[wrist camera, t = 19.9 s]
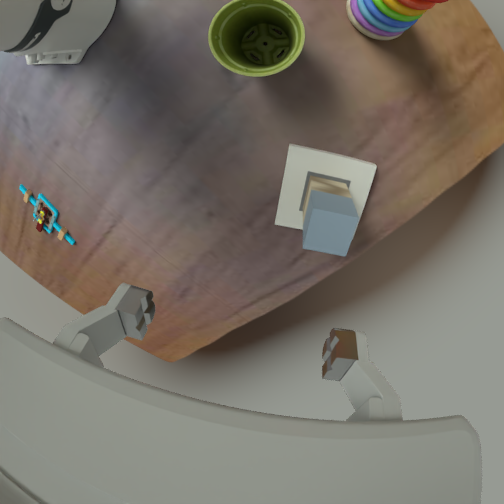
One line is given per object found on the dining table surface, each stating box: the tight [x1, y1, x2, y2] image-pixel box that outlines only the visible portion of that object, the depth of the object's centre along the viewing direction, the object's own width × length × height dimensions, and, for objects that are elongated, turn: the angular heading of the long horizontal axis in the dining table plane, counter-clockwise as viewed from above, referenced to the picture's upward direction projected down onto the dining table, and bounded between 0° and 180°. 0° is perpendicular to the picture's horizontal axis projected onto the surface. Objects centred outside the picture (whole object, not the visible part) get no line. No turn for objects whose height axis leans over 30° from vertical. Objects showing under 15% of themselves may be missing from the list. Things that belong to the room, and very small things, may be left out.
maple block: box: [303, 175, 352, 223], centre depth 35 cm, size 5×5×5 cm
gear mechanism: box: [19, 184, 75, 245], centre depth 47 cm, size 20×5×9 cm
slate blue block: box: [303, 190, 359, 257], centre depth 31 cm, size 5×5×5 cm
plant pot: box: [208, 0, 305, 77], centre depth 24 cm, size 9×9×9 cm
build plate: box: [275, 143, 377, 240], centre depth 37 cm, size 12×12×1 cm
